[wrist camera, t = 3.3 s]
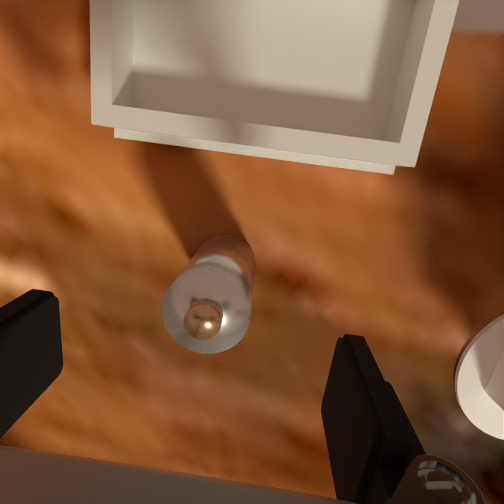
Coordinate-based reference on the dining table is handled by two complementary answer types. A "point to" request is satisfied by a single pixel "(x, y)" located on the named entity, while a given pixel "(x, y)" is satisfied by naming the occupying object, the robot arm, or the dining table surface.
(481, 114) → the dining table surface
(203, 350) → the cylinder
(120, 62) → the trough
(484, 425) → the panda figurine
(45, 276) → the dining table surface
